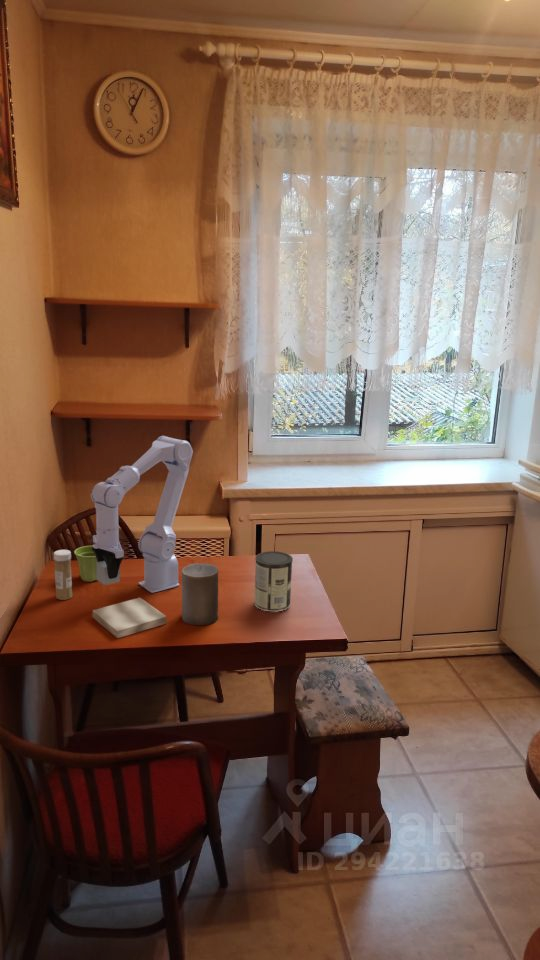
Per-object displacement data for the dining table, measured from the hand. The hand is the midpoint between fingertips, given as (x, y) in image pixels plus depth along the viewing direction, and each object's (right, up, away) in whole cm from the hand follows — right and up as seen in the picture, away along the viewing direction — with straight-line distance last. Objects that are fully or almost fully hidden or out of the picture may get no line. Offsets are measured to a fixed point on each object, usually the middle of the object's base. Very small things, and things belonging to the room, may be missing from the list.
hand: (108, 574), depth 185 cm
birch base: (+7, -11, -6) cm, 14 cm away
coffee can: (+44, -10, +7) cm, 46 cm away
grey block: (0, -2, 0) cm, 2 cm away
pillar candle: (+25, -11, -3) cm, 27 cm away
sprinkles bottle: (-14, -7, +6) cm, 17 cm away
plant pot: (-10, -4, +19) cm, 22 cm away
